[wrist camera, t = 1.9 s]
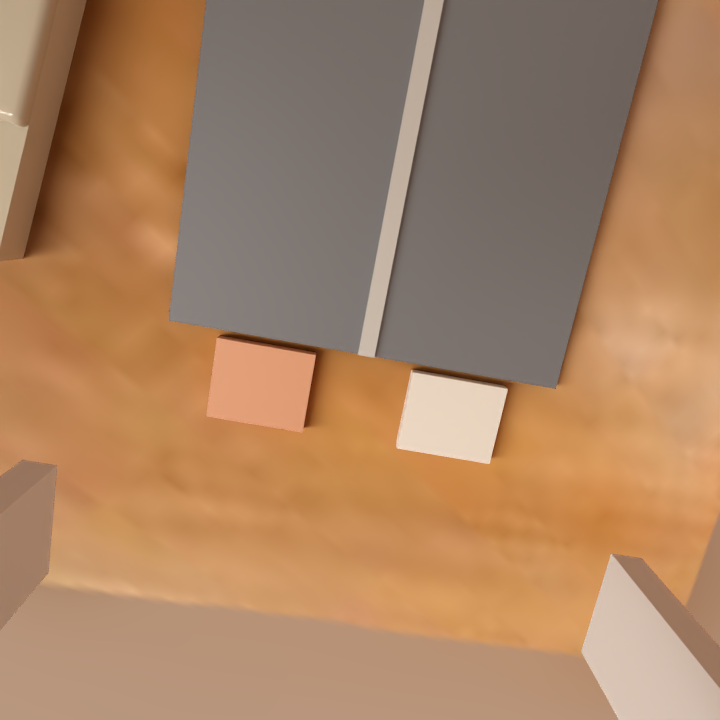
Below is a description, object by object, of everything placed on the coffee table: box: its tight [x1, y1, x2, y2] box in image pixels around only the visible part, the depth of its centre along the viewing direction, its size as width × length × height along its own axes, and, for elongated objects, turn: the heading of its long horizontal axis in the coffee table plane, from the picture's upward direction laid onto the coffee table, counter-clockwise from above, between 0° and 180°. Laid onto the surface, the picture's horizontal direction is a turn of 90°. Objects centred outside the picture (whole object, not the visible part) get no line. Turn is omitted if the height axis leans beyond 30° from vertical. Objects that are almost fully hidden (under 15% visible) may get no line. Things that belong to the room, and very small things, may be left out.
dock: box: [169, 0, 658, 464], centre depth 35 cm, size 24×30×1 cm
